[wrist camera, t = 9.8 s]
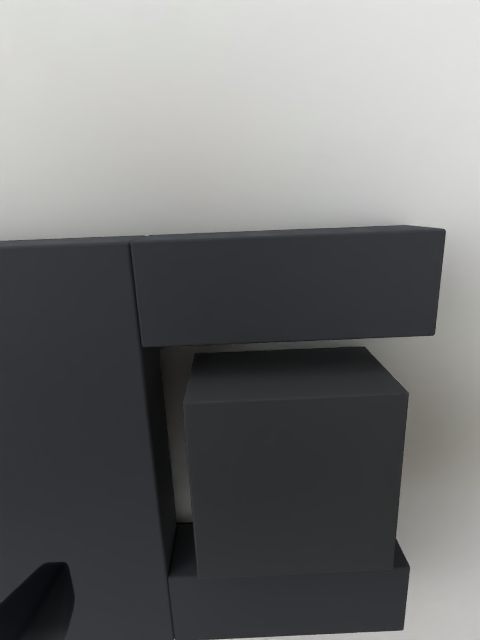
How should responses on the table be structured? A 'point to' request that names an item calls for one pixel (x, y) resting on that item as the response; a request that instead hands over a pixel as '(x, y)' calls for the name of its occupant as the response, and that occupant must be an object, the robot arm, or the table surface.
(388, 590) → the dark gray pronged block
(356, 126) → the table surface
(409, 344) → the table surface
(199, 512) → the black block
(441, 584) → the table surface
